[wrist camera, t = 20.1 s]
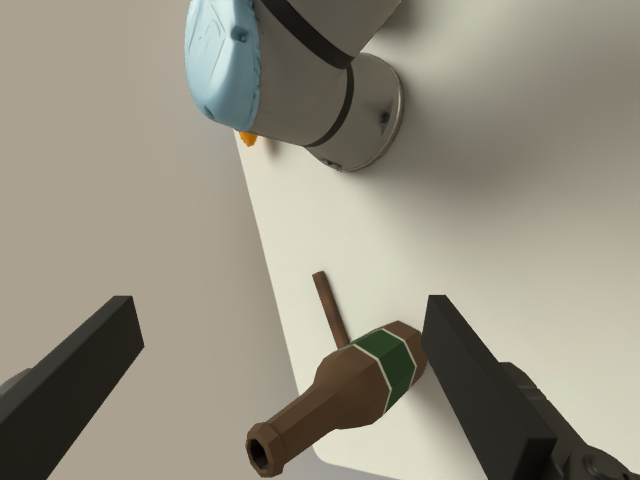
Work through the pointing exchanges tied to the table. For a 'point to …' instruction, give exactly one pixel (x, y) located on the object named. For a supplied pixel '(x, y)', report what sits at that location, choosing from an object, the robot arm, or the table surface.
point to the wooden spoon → (330, 309)
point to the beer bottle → (341, 395)
